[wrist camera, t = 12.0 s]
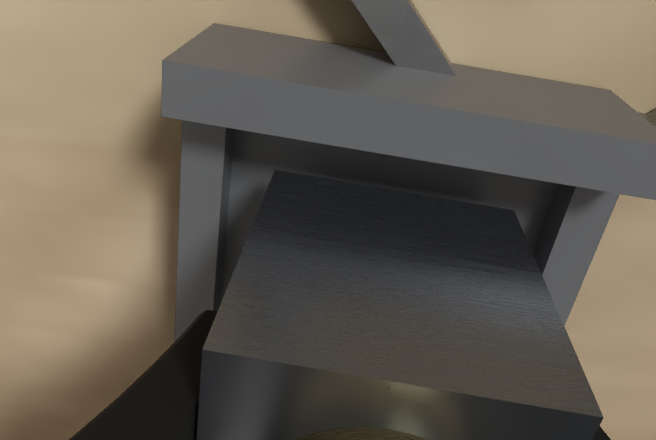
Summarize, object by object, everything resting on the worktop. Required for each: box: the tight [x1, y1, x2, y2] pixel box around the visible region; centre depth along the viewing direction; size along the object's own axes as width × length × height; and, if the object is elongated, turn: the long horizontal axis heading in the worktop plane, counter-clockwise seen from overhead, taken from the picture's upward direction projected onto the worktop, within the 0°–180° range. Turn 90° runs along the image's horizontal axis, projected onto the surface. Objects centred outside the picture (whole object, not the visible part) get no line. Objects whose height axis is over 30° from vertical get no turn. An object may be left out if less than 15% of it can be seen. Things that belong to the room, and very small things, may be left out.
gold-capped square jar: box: [196, 170, 603, 440], centre depth 9 cm, size 4×4×8 cm
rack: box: [161, 23, 656, 341], centre depth 13 cm, size 8×9×3 cm
